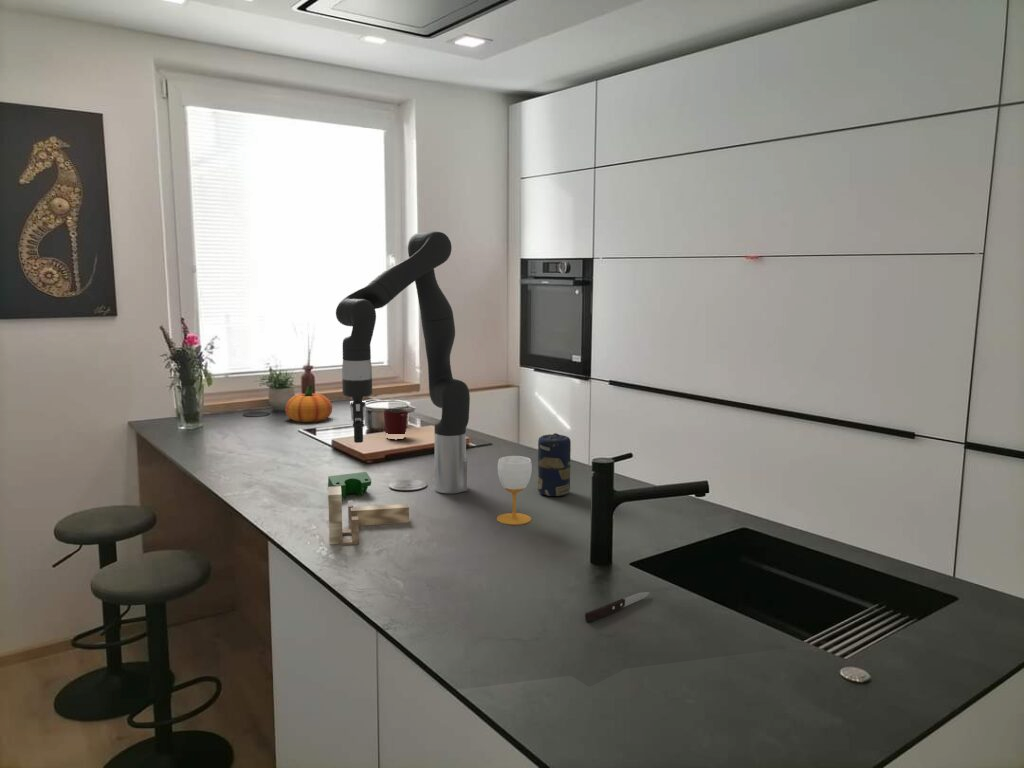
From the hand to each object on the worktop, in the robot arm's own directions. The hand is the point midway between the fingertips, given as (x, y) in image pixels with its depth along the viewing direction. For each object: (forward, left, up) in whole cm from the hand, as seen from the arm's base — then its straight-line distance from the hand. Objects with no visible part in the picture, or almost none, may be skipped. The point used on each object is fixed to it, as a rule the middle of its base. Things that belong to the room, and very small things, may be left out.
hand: (358, 438), depth 191 cm
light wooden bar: (-5, +7, -21) cm, 22 cm away
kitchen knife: (-46, +67, -21) cm, 84 cm away
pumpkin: (+16, -134, -21) cm, 137 cm away
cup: (-39, +12, -21) cm, 46 cm away
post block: (+5, +17, -21) cm, 27 cm away
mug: (-18, -89, -21) cm, 94 cm away
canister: (-56, -8, -21) cm, 60 cm away
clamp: (+2, -19, -21) cm, 28 cm away
